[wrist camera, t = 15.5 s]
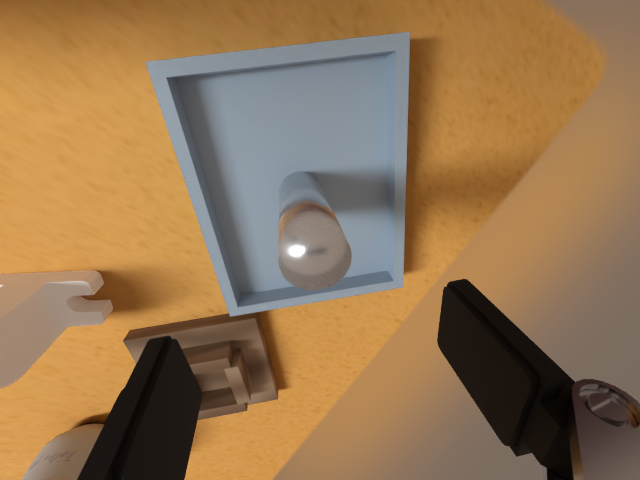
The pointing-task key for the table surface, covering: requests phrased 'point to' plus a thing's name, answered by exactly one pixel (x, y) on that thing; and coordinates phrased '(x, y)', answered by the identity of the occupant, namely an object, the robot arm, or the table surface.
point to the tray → (293, 156)
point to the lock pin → (310, 235)
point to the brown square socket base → (219, 360)
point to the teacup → (64, 454)
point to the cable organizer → (43, 314)
